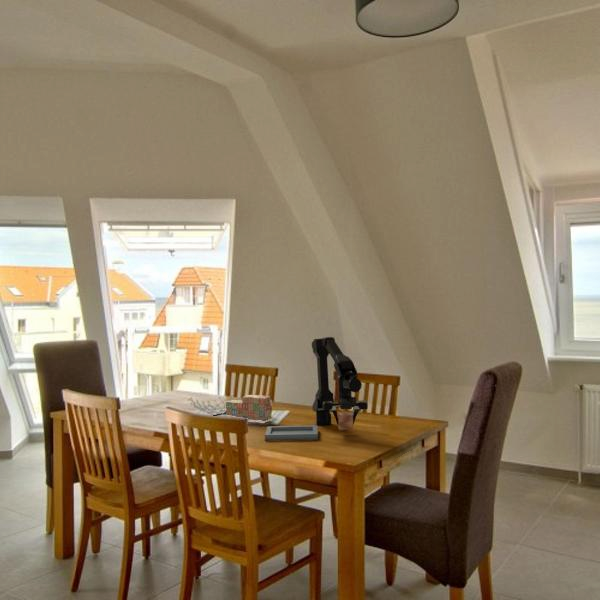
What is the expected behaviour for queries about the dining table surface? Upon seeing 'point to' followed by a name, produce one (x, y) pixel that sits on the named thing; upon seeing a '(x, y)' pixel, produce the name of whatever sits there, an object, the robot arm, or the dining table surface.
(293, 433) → the tray
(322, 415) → the robot arm
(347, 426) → the cube
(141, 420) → the dining table surface
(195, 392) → the dining table surface
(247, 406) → the stack of blocks
